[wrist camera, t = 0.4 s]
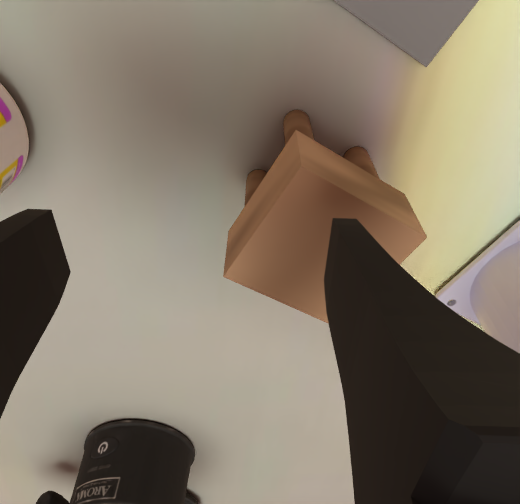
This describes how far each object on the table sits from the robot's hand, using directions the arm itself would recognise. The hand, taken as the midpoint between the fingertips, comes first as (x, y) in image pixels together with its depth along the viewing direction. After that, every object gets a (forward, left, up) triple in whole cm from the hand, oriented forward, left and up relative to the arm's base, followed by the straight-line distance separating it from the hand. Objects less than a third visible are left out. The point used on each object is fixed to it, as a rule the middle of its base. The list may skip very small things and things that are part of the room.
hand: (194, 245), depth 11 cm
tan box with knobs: (-5, 0, -10) cm, 11 cm away
